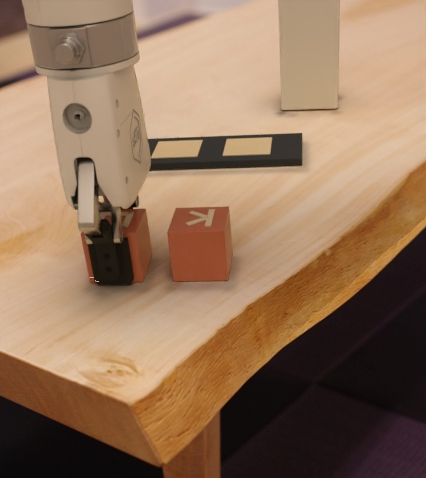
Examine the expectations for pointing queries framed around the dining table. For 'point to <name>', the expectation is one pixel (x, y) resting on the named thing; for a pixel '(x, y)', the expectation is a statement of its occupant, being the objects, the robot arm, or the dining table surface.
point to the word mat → (226, 151)
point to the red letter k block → (200, 244)
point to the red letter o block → (130, 241)
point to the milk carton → (309, 53)
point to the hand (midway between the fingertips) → (121, 265)
